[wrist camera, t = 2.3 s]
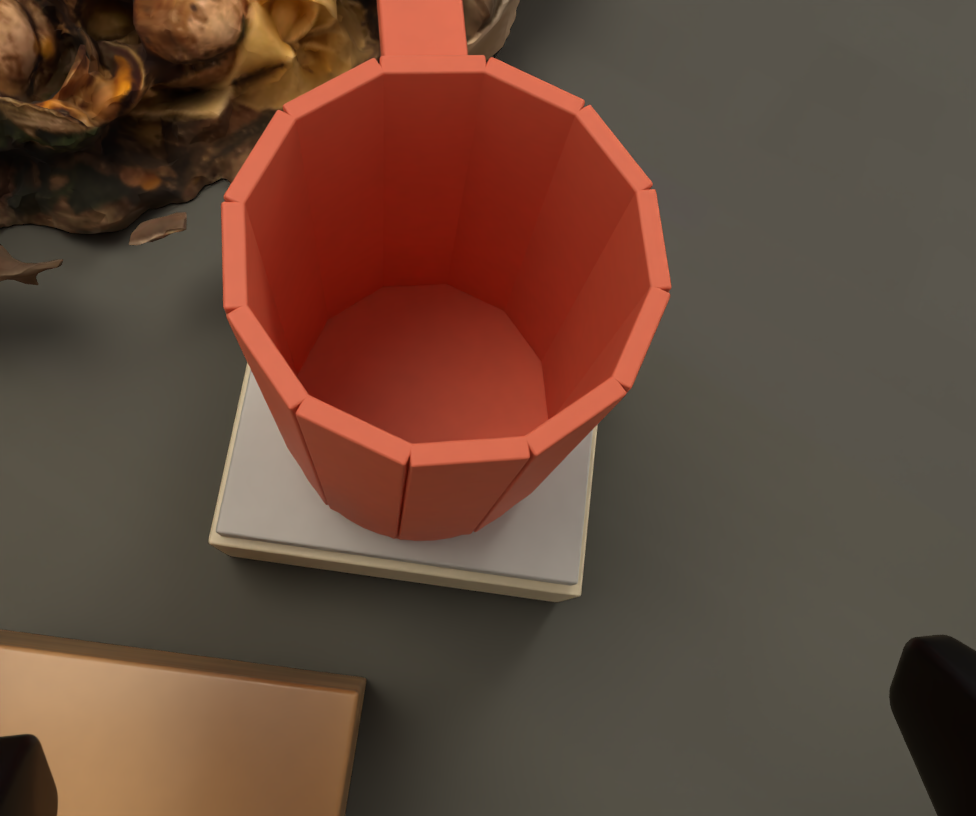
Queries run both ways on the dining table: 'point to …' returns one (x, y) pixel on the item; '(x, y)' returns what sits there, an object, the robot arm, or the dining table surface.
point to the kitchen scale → (353, 549)
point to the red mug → (439, 278)
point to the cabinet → (180, 729)
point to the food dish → (162, 98)
